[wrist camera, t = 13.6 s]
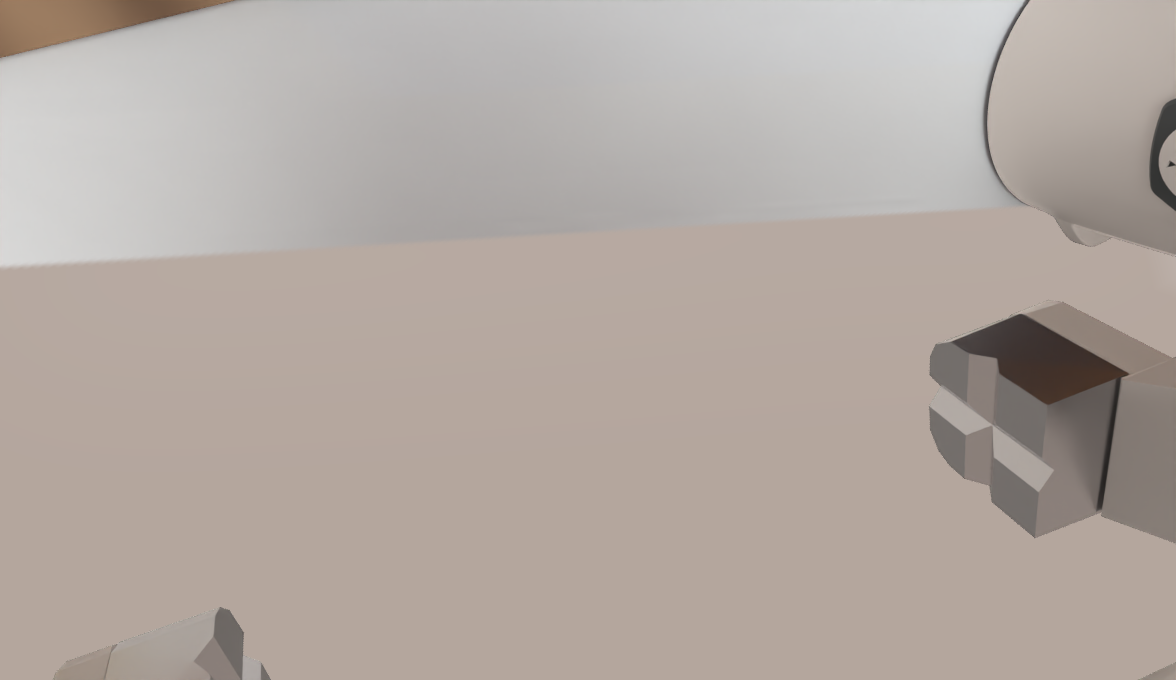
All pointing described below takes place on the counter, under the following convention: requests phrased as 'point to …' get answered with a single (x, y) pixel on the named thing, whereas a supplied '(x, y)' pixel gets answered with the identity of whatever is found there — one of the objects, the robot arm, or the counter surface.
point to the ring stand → (78, 19)
